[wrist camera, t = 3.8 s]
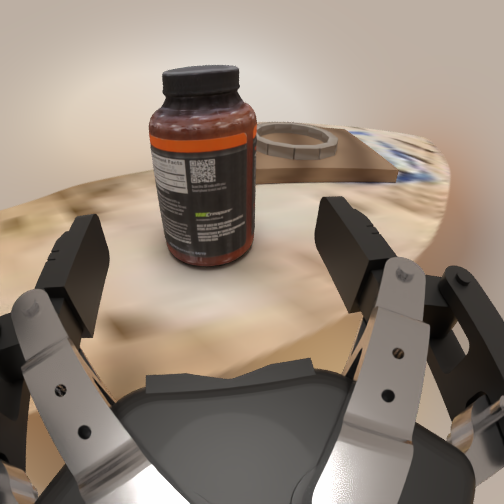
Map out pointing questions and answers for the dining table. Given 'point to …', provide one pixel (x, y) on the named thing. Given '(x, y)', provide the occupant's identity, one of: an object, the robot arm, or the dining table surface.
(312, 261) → the dining table surface
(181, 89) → the supplement bottle
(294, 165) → the walnut board
